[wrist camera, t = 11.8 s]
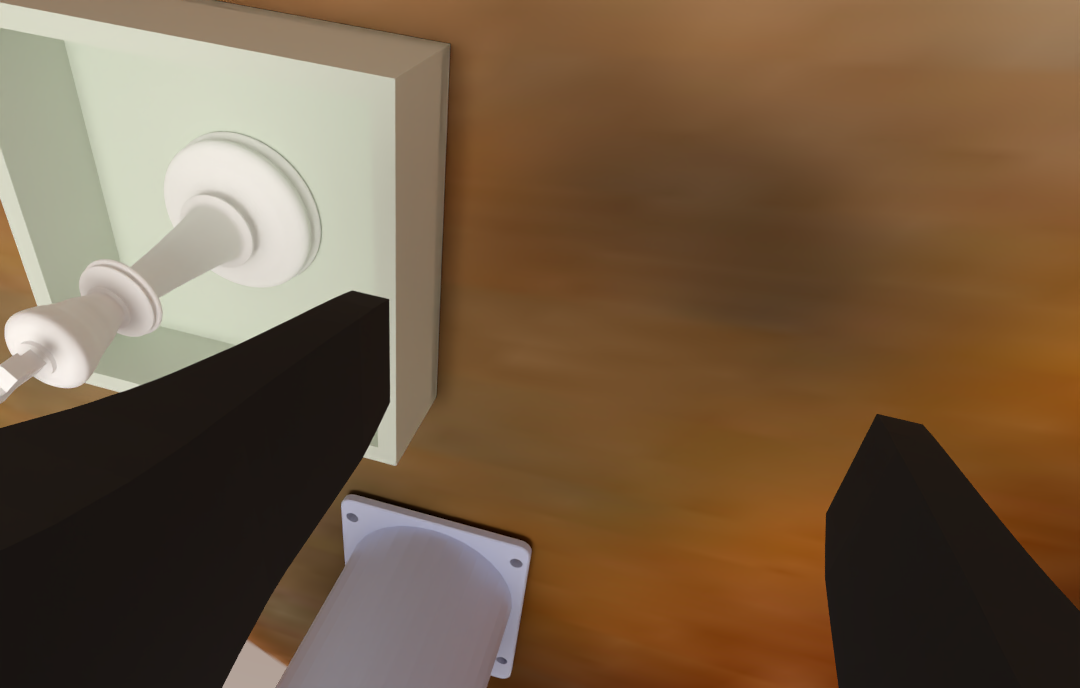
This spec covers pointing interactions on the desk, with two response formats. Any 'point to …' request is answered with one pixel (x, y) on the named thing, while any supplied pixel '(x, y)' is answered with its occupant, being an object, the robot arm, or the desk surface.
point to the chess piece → (175, 258)
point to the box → (240, 107)
